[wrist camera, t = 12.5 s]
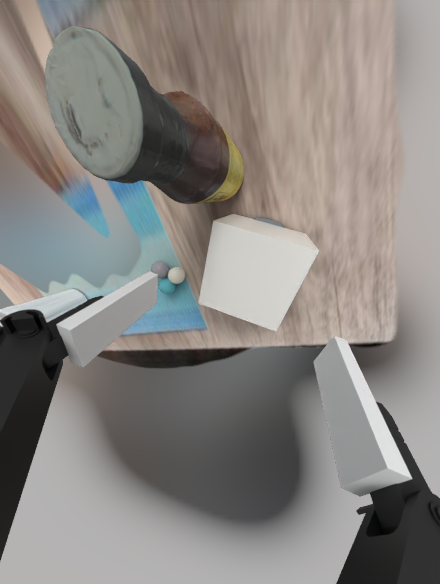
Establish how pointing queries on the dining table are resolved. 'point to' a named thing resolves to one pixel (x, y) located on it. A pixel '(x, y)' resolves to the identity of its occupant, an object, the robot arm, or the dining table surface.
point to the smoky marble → (160, 269)
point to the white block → (254, 269)
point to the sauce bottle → (136, 123)
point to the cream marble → (176, 275)
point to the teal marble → (166, 286)
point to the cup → (49, 304)
